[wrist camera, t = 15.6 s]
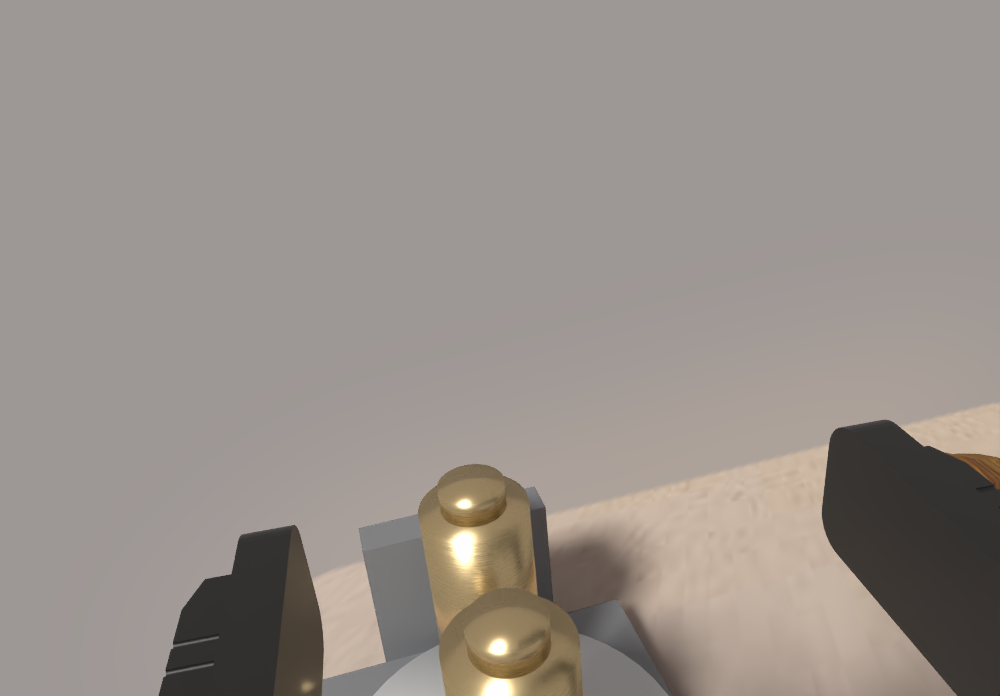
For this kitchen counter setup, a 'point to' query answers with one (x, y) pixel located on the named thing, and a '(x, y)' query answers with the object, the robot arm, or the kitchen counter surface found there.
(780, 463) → the kitchen counter surface
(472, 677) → the weight
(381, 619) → the scale
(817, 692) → the kitchen counter surface
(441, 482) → the weight
